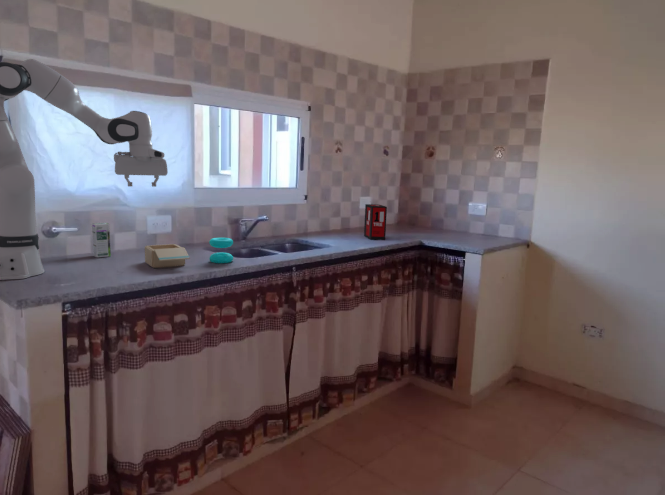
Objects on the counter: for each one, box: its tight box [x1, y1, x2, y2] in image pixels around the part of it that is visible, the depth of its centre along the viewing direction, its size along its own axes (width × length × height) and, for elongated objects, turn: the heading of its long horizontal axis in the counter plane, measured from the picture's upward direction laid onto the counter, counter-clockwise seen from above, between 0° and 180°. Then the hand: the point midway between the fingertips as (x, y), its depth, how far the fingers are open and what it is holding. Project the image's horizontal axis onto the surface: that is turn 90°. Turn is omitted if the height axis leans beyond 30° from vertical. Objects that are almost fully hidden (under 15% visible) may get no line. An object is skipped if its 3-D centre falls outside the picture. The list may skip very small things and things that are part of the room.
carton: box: [144, 243, 186, 269], centre depth 195 cm, size 13×14×7 cm
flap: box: [154, 246, 191, 261], centre depth 185 cm, size 12×1×8 cm
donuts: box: [208, 237, 234, 264], centre depth 203 cm, size 10×10×10 cm
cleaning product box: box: [363, 203, 388, 241], centre depth 289 cm, size 16×9×20 cm, turn 10°
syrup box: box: [91, 222, 112, 259], centre depth 205 cm, size 6×6×14 cm
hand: (142, 186), depth 196 cm, fingers open, 8 cm apart
